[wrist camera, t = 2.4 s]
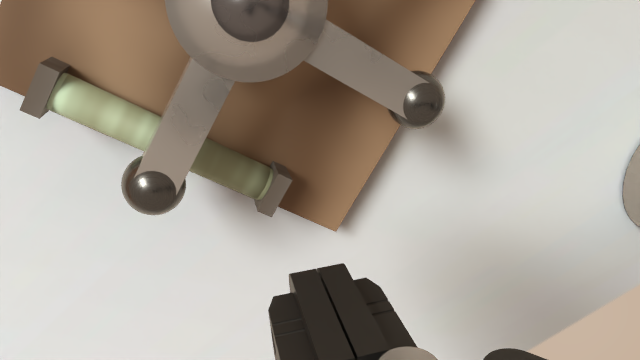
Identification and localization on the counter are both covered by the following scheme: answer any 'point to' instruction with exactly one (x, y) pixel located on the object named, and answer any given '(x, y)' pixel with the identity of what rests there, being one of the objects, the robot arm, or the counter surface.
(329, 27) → the capstan
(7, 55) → the stand
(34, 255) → the counter surface
